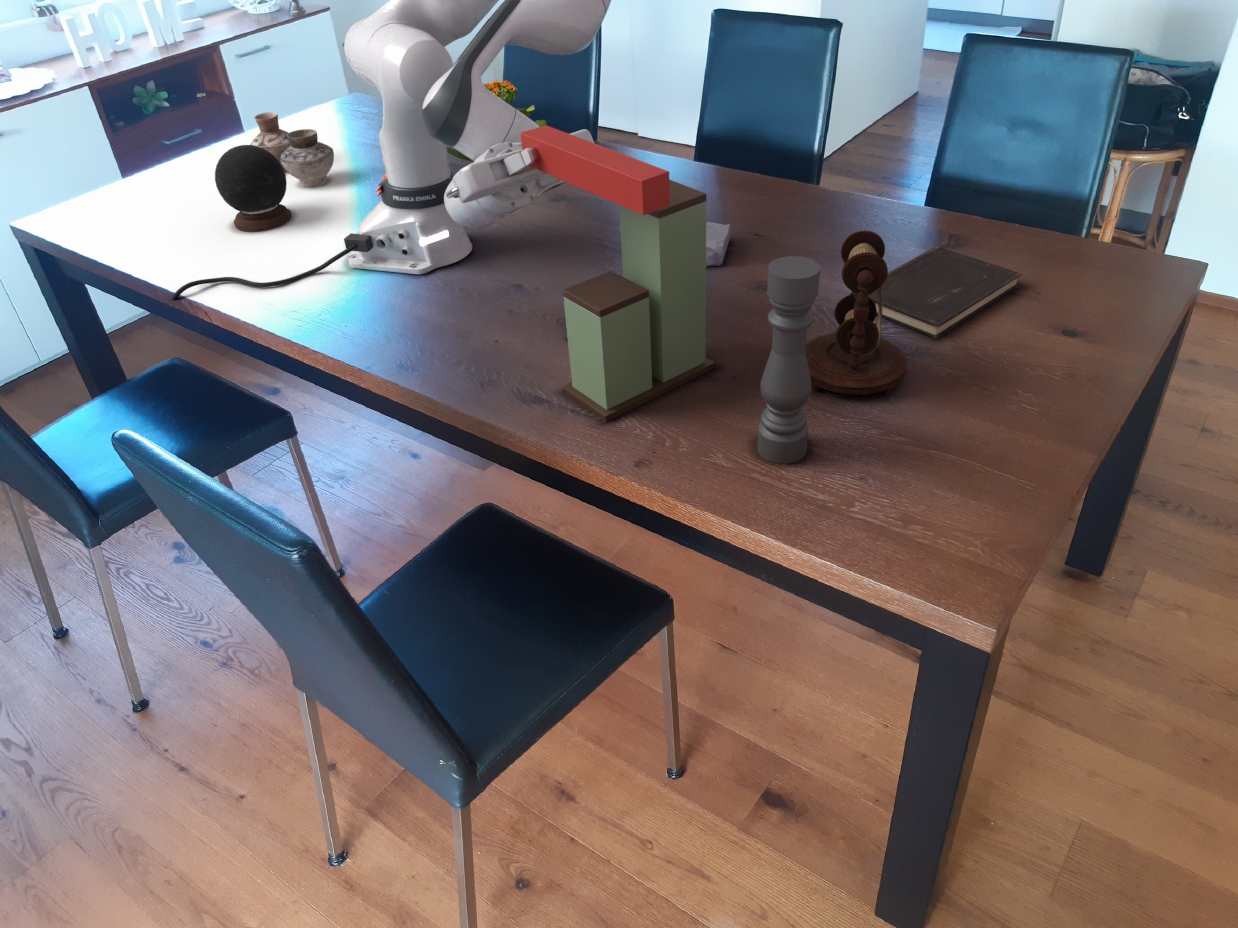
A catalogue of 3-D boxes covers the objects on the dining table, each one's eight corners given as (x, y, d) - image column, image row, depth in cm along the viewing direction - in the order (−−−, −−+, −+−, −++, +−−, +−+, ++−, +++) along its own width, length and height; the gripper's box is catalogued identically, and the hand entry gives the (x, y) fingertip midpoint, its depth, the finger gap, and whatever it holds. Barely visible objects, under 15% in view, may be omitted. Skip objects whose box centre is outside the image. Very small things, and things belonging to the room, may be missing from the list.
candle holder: (752, 437, 118) (760, 257, 103) (799, 432, 118) (814, 253, 103) (762, 466, 113) (772, 282, 98) (812, 461, 113) (829, 277, 98)
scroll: (908, 406, 122) (931, 268, 109) (795, 400, 124) (806, 265, 112) (901, 349, 133) (921, 219, 121) (798, 345, 135) (807, 217, 123)
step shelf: (562, 392, 129) (543, 216, 113) (669, 342, 138) (666, 173, 122) (606, 422, 122) (592, 240, 106) (715, 368, 132) (717, 193, 116)
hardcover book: (1018, 286, 146) (1021, 273, 145) (936, 339, 135) (938, 325, 133) (931, 257, 156) (933, 245, 155) (847, 304, 145) (849, 291, 143)
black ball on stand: (215, 230, 183) (190, 155, 173) (258, 205, 192) (236, 133, 183) (268, 237, 178) (245, 161, 169) (310, 211, 188) (290, 138, 179)
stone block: (670, 275, 160) (726, 266, 157) (664, 249, 157) (721, 240, 154) (681, 248, 169) (734, 240, 166) (675, 224, 167) (729, 215, 164)
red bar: (523, 164, 118) (520, 132, 115) (549, 156, 120) (545, 125, 117) (643, 215, 102) (642, 181, 100) (670, 205, 104) (669, 171, 102)
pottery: (290, 158, 215) (276, 105, 208) (350, 180, 201) (337, 125, 194) (247, 172, 209) (230, 118, 202) (305, 196, 195) (290, 139, 188)
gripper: (432, 176, 121) (471, 144, 109) (556, 137, 131) (605, 104, 119) (450, 221, 122) (491, 195, 111) (572, 180, 132) (622, 152, 120)
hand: (551, 148), depth 115 cm, fingers closed on red bar, 4 cm apart
